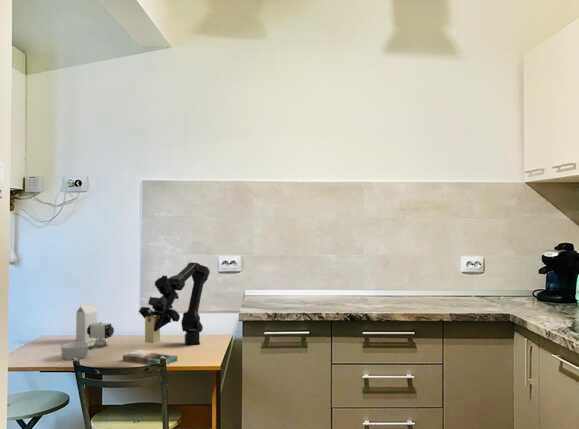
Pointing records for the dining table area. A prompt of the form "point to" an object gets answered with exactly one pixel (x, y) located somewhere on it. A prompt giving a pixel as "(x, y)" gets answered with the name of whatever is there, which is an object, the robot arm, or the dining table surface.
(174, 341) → the dining table surface
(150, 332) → the brass clip
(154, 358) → the divided tray
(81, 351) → the saucepan
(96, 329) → the pneumatic valve
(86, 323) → the milk carton
